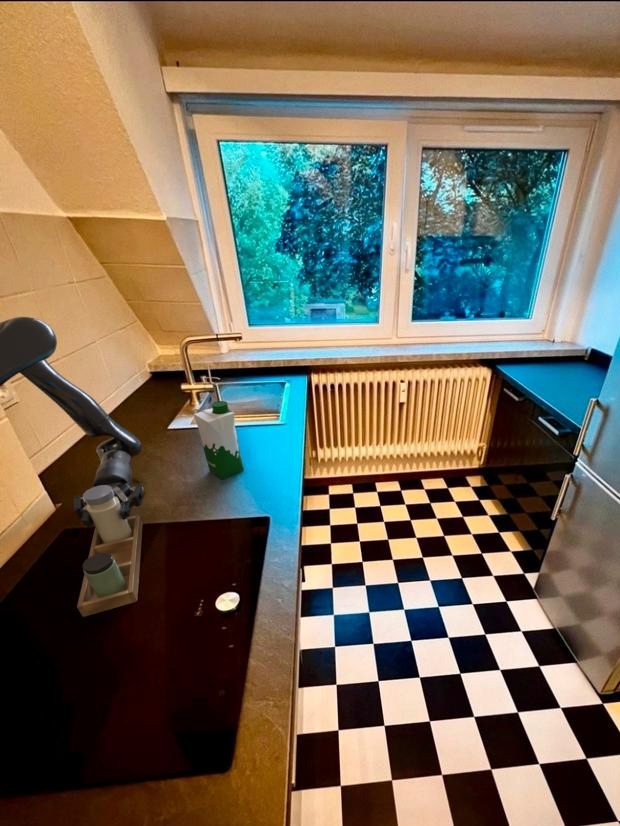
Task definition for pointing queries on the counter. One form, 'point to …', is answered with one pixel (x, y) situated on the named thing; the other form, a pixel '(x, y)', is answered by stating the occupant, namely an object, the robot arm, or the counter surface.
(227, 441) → the milk carton
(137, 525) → the jar stand
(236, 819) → the counter surface
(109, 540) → the jar
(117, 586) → the spice jar
